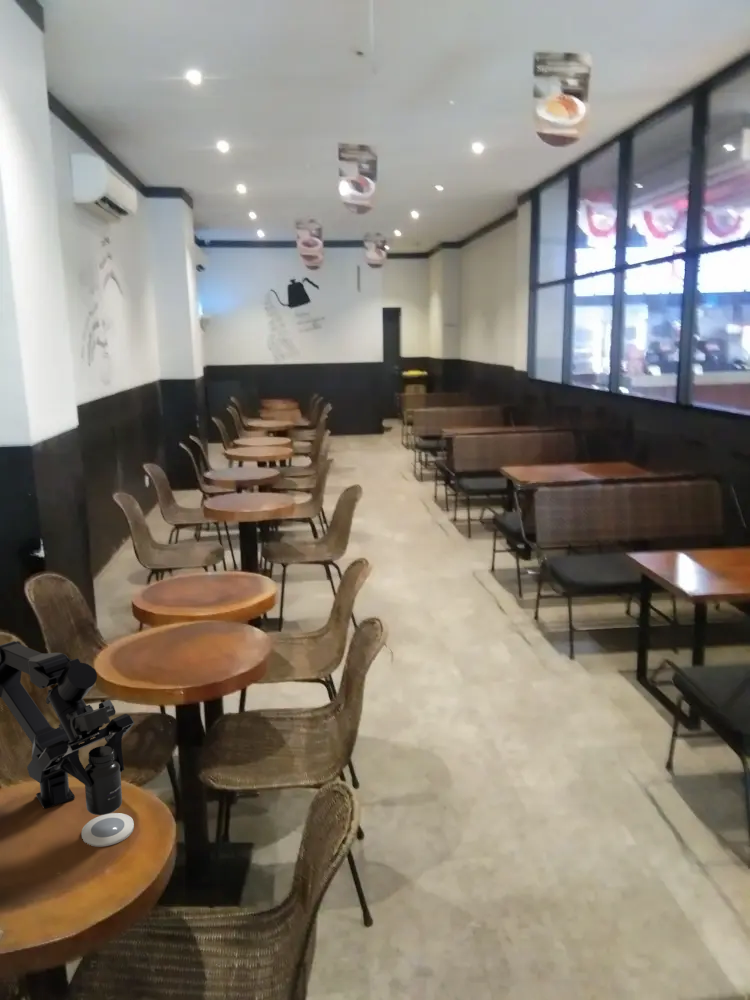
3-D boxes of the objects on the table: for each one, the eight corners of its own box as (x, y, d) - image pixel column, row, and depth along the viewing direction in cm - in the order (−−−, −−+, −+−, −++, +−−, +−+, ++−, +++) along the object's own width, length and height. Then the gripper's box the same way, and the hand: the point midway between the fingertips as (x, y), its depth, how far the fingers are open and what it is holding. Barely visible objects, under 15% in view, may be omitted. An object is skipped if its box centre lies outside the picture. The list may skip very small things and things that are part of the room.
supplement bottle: (120, 814, 154) (116, 758, 151) (84, 818, 152) (79, 762, 150) (124, 794, 160) (120, 741, 158) (89, 798, 159) (85, 744, 156)
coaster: (75, 828, 158) (74, 824, 158) (123, 810, 164) (123, 806, 164) (91, 853, 151) (90, 849, 150) (141, 833, 156) (141, 829, 156)
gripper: (41, 709, 147) (77, 783, 142) (126, 676, 161) (162, 742, 157) (23, 735, 153) (57, 806, 149) (106, 701, 168) (140, 765, 163)
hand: (106, 778), depth 154 cm, fingers closed on supplement bottle, 7 cm apart
